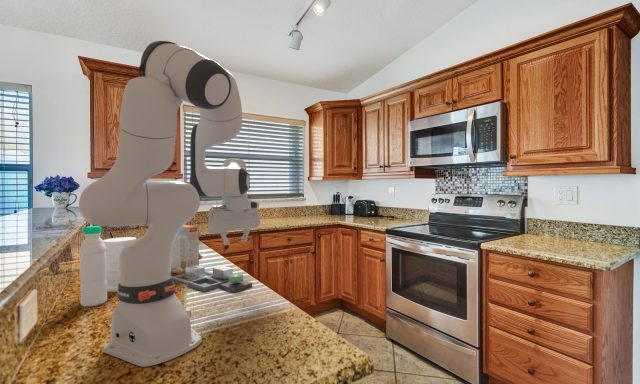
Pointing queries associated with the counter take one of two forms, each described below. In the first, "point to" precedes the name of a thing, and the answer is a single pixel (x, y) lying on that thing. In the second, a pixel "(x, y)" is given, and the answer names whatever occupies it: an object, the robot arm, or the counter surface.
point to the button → (235, 278)
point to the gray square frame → (185, 275)
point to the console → (235, 286)
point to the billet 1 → (195, 272)
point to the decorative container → (114, 260)
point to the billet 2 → (222, 273)
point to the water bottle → (93, 268)
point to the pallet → (206, 283)
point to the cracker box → (185, 249)
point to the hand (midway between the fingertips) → (235, 243)
